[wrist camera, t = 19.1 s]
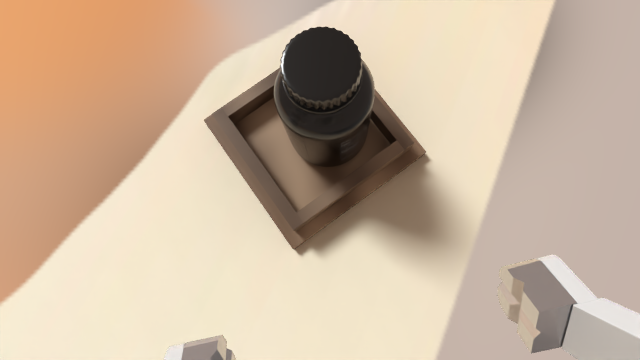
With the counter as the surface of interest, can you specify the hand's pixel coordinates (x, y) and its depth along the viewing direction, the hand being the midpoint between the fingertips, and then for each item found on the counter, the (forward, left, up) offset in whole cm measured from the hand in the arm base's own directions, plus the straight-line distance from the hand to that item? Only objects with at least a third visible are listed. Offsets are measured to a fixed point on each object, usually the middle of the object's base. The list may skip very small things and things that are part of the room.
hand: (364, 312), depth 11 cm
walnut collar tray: (-4, +12, -21) cm, 25 cm away
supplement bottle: (-3, +12, -21) cm, 24 cm away
